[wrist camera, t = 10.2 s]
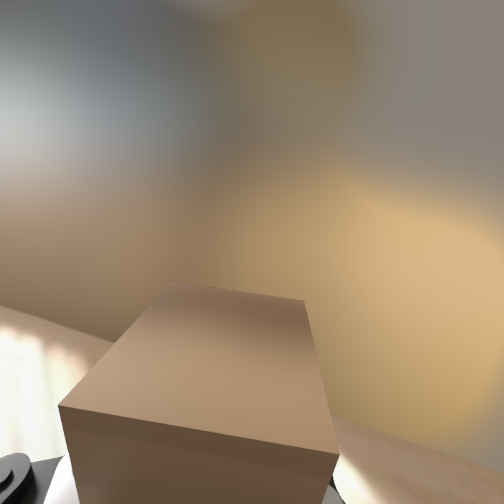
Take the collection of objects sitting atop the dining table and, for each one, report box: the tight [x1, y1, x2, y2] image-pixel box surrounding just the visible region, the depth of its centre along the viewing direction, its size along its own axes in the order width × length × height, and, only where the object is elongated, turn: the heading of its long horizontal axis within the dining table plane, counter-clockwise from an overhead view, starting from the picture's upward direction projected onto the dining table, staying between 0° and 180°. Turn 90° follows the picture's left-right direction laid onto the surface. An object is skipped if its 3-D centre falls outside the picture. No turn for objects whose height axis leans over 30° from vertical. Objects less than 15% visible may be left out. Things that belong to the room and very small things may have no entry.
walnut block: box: [58, 281, 340, 504], centre depth 9 cm, size 6×6×11 cm
